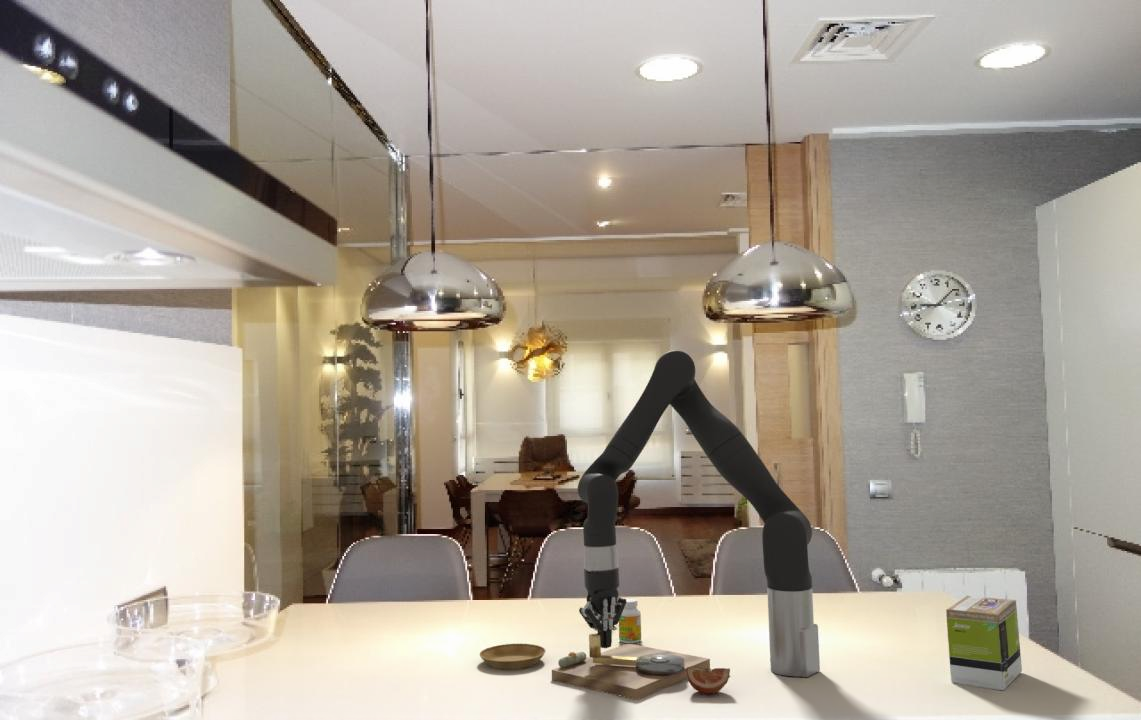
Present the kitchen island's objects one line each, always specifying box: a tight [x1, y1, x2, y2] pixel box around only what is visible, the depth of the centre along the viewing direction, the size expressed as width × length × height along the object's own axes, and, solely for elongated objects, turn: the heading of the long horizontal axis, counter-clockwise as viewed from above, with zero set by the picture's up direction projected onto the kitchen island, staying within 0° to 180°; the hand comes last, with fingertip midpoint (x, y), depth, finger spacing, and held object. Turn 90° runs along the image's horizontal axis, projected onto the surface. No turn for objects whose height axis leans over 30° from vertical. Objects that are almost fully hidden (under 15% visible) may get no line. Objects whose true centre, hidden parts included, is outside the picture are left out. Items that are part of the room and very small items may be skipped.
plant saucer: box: [479, 643, 547, 670], centre depth 197 cm, size 15×15×3 cm
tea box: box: [945, 595, 1023, 691], centre depth 176 cm, size 15×10×15 cm
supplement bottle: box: [618, 598, 642, 644], centre depth 213 cm, size 5×5×10 cm
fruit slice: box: [687, 667, 731, 695], centre depth 171 cm, size 8×7×5 cm
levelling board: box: [551, 643, 711, 700], centre depth 185 cm, size 22×26×5 cm
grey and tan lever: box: [588, 633, 685, 675], centre depth 183 cm, size 20×10×6 cm, turn 71°
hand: (605, 647), depth 189 cm, fingers closed
